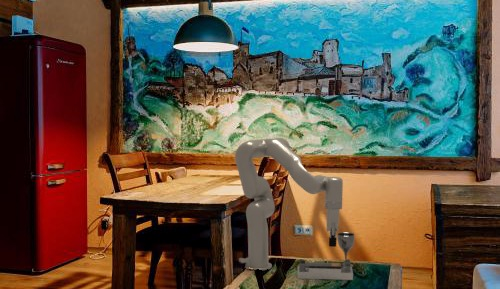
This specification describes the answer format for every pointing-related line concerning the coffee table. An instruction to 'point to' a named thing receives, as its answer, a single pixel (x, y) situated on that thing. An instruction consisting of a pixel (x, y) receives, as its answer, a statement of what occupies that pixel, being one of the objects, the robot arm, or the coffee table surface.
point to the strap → (324, 265)
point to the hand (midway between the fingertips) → (332, 246)
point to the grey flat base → (325, 272)
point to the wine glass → (345, 243)
